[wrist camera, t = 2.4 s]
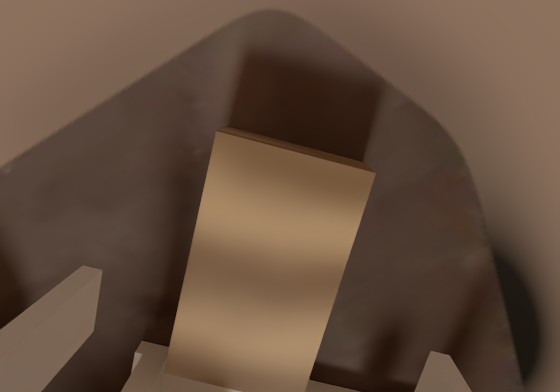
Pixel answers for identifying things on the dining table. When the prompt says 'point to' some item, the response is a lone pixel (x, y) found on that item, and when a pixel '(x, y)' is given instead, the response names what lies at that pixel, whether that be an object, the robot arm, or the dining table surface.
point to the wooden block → (265, 262)
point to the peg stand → (168, 388)
